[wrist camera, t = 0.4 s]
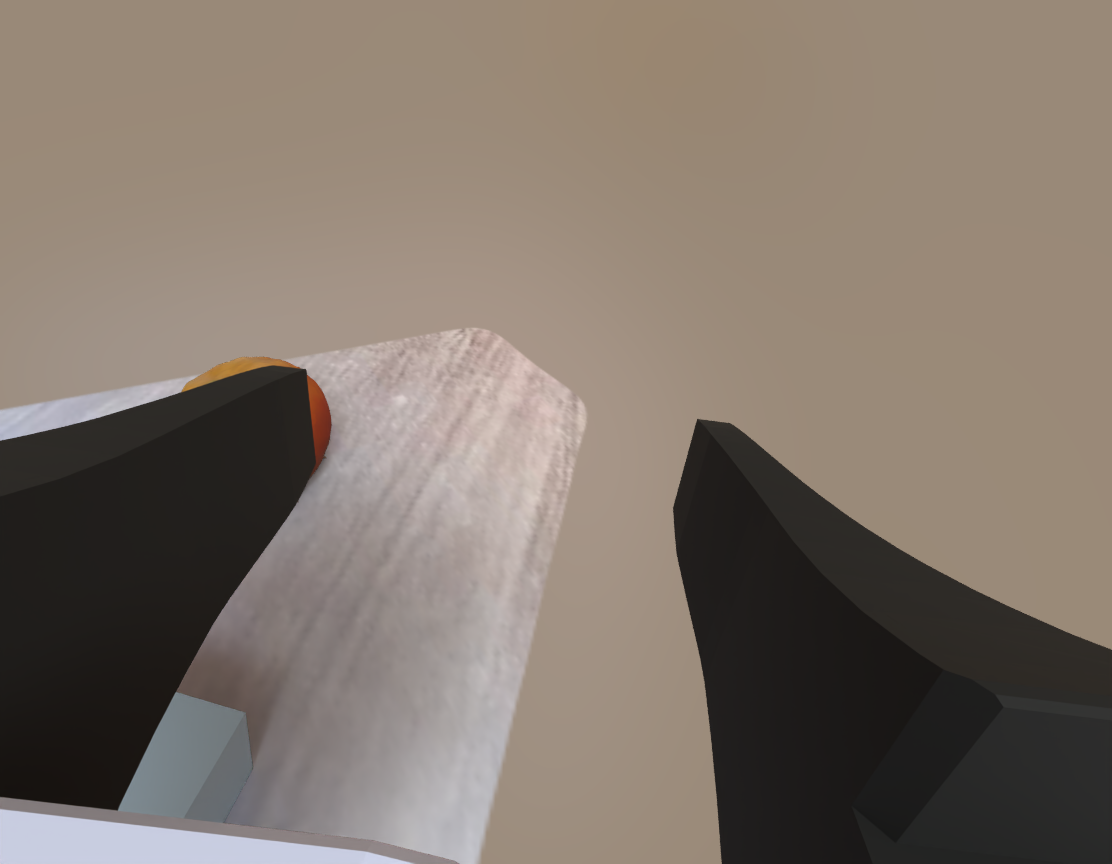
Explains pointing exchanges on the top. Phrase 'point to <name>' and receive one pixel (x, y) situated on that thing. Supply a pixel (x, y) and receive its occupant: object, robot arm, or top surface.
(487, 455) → the top surface
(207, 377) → the fruit
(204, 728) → the grayish teal block
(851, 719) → the robot arm
